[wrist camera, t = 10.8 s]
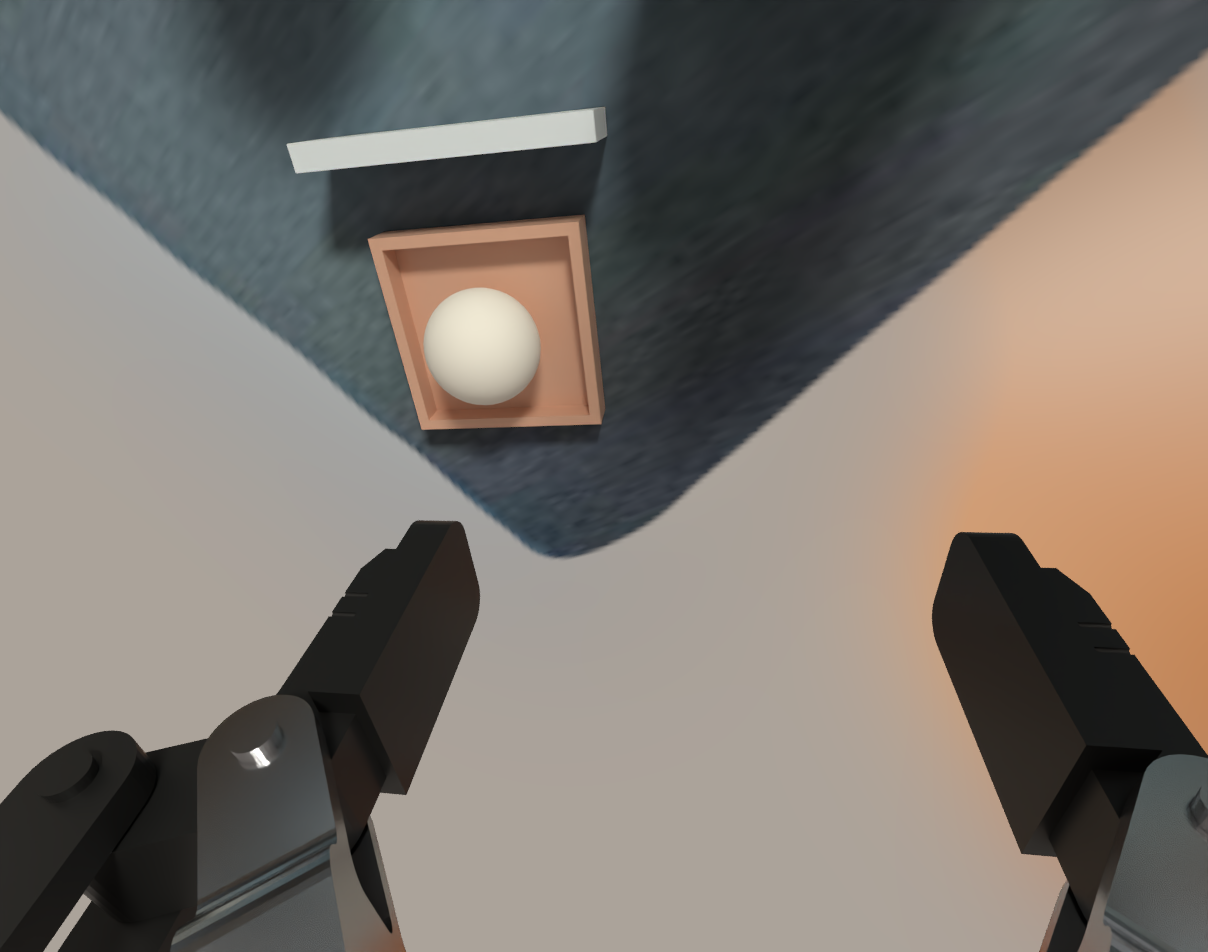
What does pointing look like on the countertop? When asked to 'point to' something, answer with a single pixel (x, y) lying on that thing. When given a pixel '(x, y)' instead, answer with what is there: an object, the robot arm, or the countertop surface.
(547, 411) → the dish
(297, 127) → the countertop surface
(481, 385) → the ball
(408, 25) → the countertop surface
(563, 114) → the wall
